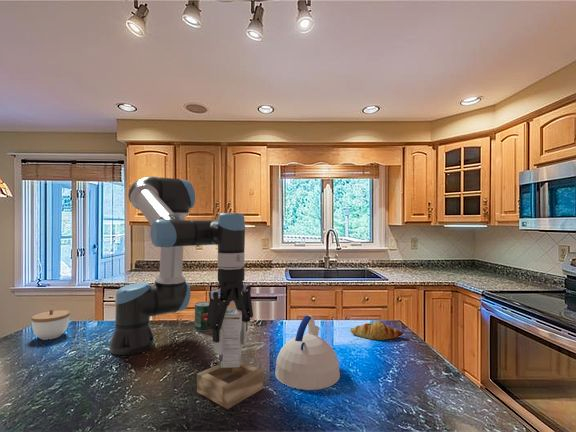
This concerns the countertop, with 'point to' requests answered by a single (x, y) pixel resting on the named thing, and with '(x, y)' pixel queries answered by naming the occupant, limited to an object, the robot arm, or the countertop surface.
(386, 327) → the croissant
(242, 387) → the socket block
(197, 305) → the canned tomato
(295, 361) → the kettle
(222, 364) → the syrup box
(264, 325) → the countertop surface
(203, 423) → the countertop surface
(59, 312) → the lidded bowl
